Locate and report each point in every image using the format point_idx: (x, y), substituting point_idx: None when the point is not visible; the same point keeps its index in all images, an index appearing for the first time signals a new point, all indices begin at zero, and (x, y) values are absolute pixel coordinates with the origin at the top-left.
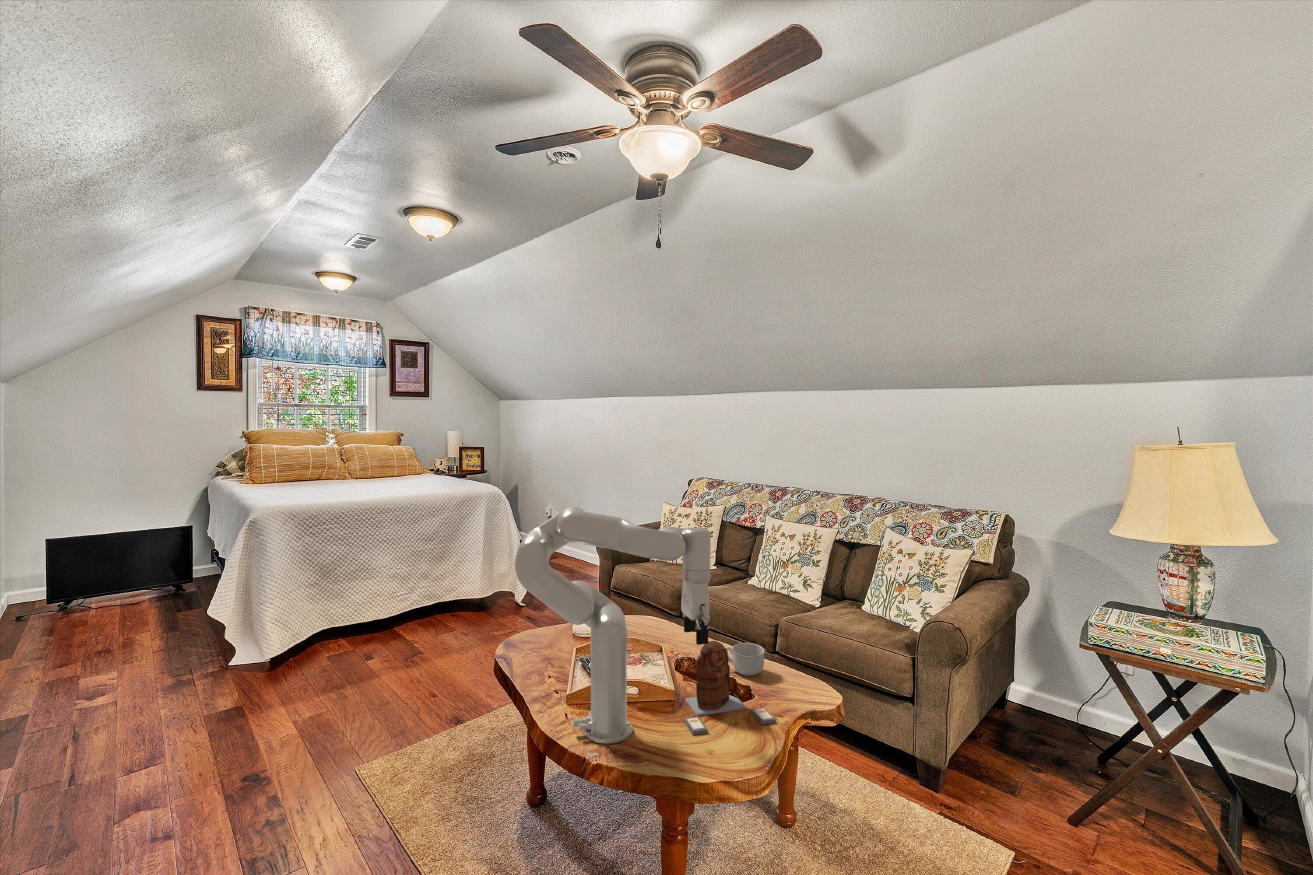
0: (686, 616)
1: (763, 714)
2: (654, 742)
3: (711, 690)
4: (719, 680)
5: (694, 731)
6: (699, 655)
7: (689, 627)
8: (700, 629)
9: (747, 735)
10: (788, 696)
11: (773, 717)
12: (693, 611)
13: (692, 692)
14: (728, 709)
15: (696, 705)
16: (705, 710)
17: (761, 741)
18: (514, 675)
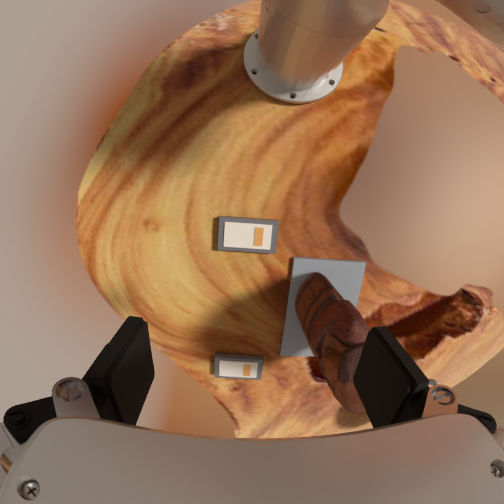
0: (421, 402)
1: (235, 368)
2: (219, 128)
3: (305, 313)
4: (308, 343)
5: (219, 220)
6: (364, 336)
7: (371, 369)
8: (65, 387)
9: (187, 314)
10: (290, 418)
11: (221, 376)
12: (3, 486)
13: (385, 287)
14: (285, 324)
15: (328, 272)
16: (301, 281)
17: (162, 325)
18: (494, 46)
